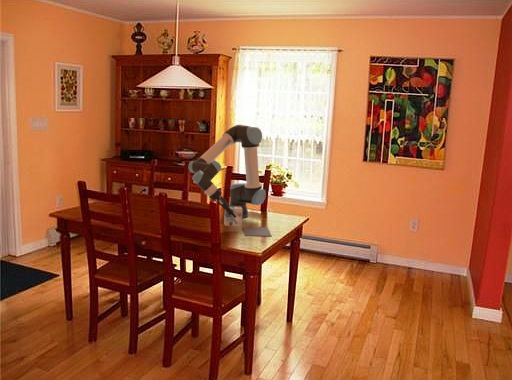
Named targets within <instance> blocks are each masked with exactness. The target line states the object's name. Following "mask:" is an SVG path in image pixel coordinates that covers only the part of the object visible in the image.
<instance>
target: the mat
mask: <svg viewBox="0 0 512 380" xmlns="http://www.w3.org/2000/svg"><path fill="white" fill-rule="evenodd" d="M242 229H243V232H244V236H245V237H269V238H270V237H272V236H273V235H272V233H271V232H270V229H269V228H268V227H265V226H264V227H262V226H261V227H257V226H242Z"/></svg>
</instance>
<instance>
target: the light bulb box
mask: <svg viewBox="0 0 512 380" xmlns="http://www.w3.org/2000/svg"><path fill="white" fill-rule="evenodd" d="M230 209H231V210H232V211H233V212H235V214H236V215H237V216H238V217H239V218H240V219H241V220H240V221H239V222H237V221H236V220H235V219H234V218H233V217H232V216H231V215H230V216H229V213H228V212H227V211H226V210H225V209H224V213H223V215H224V216H223V224H224V226H225V227H226V226H227V227H229V226H231V227H243V226H242V225H243V218H242V212H243V209H242V208H241V207H230ZM230 212H231V211H230Z"/></svg>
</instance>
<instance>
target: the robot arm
mask: <svg viewBox="0 0 512 380" xmlns="http://www.w3.org/2000/svg"><path fill="white" fill-rule="evenodd" d="M262 140H263V132H262V130H261V128H259V126H255V125H251V124H250V125H249V124H235V125H234V126H232V127H230V128H229V129H227V130H226V131H224V133H222V134H221V138H219V139H218V140H217V141H216V142H214V144H213V145H211V146H210V148H208V150H206V151H205V152H204V153H203V154H202V155H201V156H200V157H199V158H198V159H196V160H191V161H190V162H189V163H188V167H187V168H188V170H189V172H190V173H193V175H192V177H191V180H192V181H193V183H195V185H197V186H198V187H199V189H201V190H202V191H203V193H204V195H206V196H208V198H209V199H210V200H211V201H212V202H214V201H216V200H217V201H216V202H217V203H218V204H219V206H220V207H222V208H223V209H224V210H226V211H227V212H228V213H229V216H230V215H231V216H232V217H233V218H234V219H235V220H236V221H237V222H239V221H240V220H241V219H240V218H239V217H238V216H237V215H236V214H235V212H233V211H232V210H231V209H230V207H241V208H242V209H243V212H242V219H243V218H247V217H249V210H248V206H247V204H248V205H253V206H260V205H261V204H263V203H264V201H265V199H266V194H267V193H266V190H265V189H264V188H263V187H262V183H261V182H260V176H259V175H260V173H259V160H258V158H259V157H258V147H260V144H261V142H262ZM236 143H241V148H242V149H243V151H244V153H243V154H244V165H245V167H244V169H245V178H246V179H245V180H246V181H245V182H238V183H237V182H236V183H231V185H230V189H229V190H230V192H229V193H230V194H229V203H228V202H227V200H226V199H225V198H224V197H223V196H221V195H222V191H221V190H220V188H218V187H217V186H216V185H215V184H214V183H213V182H212V180H213V179H214V178H215V177H216V175H218V174H219V172H220V171H221V170H222V166H221V164H220V162H219V161H217V160H216V159H217V158H218V157H219V156H220V155H221V154H223V153H224V152H225V150H227V148H229V147H230V146H233V145H234V144H236ZM230 211H231V212H230Z"/></svg>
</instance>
